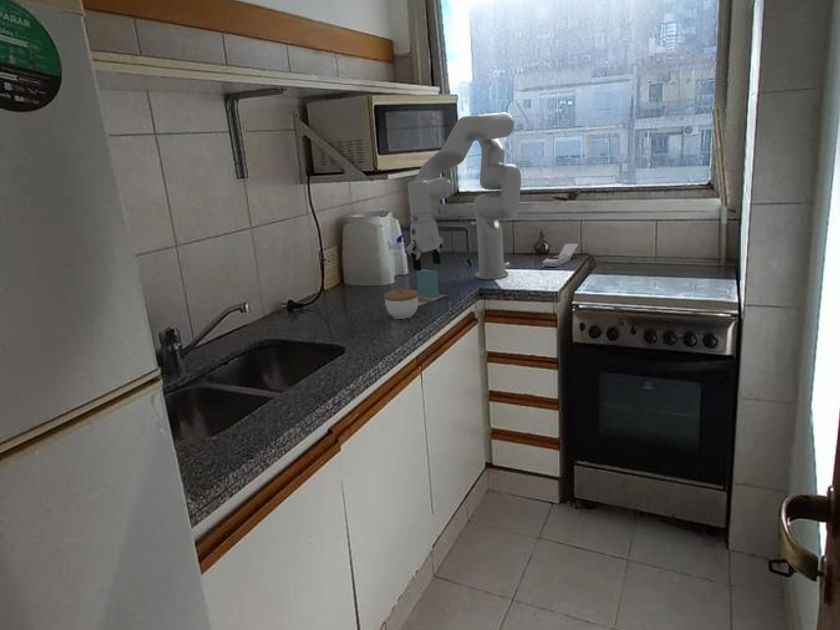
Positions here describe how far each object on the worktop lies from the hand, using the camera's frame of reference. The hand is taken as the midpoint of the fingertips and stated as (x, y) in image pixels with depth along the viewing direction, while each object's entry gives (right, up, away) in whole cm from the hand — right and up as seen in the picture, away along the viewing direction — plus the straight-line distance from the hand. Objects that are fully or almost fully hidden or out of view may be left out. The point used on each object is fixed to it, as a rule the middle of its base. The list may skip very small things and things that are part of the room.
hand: (427, 267), depth 210 cm
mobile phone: (+55, +5, +41) cm, 69 cm away
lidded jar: (-8, -17, -18) cm, 26 cm away
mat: (-2, -12, 0) cm, 12 cm away
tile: (0, -10, +2) cm, 10 cm away
